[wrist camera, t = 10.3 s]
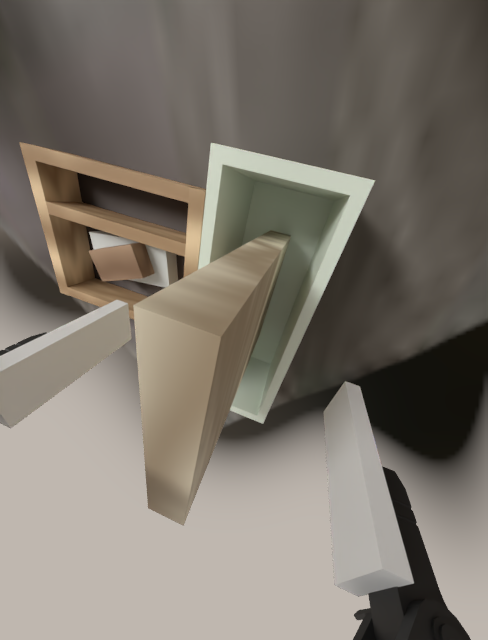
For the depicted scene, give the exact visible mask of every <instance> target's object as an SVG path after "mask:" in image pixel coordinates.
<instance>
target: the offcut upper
mask: <svg viewBox="0 0 488 640" xmlns="http://www.w3.org/2000/svg"><path fill="white" fill-rule="evenodd" d="M89 253H90V256H91V258H92V260H93V262H94V264H95V266H96V269H97V271H98V273H99V275H100V277H101V279H102V282H103V281H116V280H128V279H141V278H145V277H147V276H150V275H152V274H154V273H155V272H154V269H153V266H152V263H151V261H150V258H149V255H148V252H147V249H146V246H145V244H143V243H132V244H126V245H119V246H112V247H105V248H100V249H95V250H90V251H89Z"/></svg>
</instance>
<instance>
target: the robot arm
mask: <svg viewBox="0 0 488 640" xmlns="http://www.w3.org/2000/svg"><path fill="white" fill-rule="evenodd" d="M129 340H131V329H130V319H129V308H128V303H125V302H122V301H120V300H115V301H113V302H111V303H109V304H107V305H105V306H103V307H101V308H99V309H97V310H94V311H92V312H90V313H88V314H86V315H84V316H82V317H80V318H78V319H76V320H74V321H72V322H70V323H68V324H65V325H63V326H61V327H59V328H57V329H55V330H53V331H51V332H49V333H43V334H39V335H35V336H31V337H29V338H27V339H25V340H22V341H20V342H18V343H17V344H16V345H15V344H14V345H12V346H10V347H7V348H6V349H5V350H1V351H0V423H1V424H3V425H5V426H7V427H9V428H12V427H13V426H14V425H16V424H17V423H19V422H20V421H21V420H23V419H24V418H25V417H27V416H28V415H29V414H31V413H32V412H33V411H35V410H36V409H38V408H39V407H40V406H42V405H43V404H44V403H46V402H47V401H48V400H50V399H51V398H52V397H54V396H55V395H56V394H58V393H59V392H60V391H62V390H63V389H64V388H65V387H67V386H69V385H70V384H71V383H73V382H74V381H75V380H77V379H78V378H79V377H81V376H82V375H83V374H85V373H86V372H87V371H89V370H90V369H92V368H93V367H94V366H96V365H97V364H98V363H100V362H101V361H102V360H104V359H105V358H106V357H108V356H109V355H110V354H112V353H113V352H114V351H116V350H117V349H118V348H120V347H121V346H123V345H124V344H125V343H127V342H128V341H129ZM323 414H324V429H325V445H326V459H327V460H326V461H327V476H328V492H329V507H330V523H331V538H332V554H333V569H334V584H335V586H338V587H340V588H342V589H344V590H346V591H348V592H350V593H352V594H354V595H356V596H358V597H359V596H363V595H367V594H369V601H370V607H371V608H369V609H363V610H359V611H357V612H356V613H355V614H354V616H355V618H356V619H357V620H361V619H363V621H362V623H361V625H360V627H359V629H358V631H357V633H356V635H355V637H354V639H353V640H471V639H470V637H469V635H468V634H467V633H466V631H465V630H464V628H463V627H462V625H461V624H460V622H459V621H458V620H457V618H456V617H455V616H454V615H453V614H452V613H451V612H450V611H449V610H448V608H447V606H446V604H445V602H444V600H443V598H442V595H441V593H440V590H439V587H438V584H437V581H436V578H435V575H434V573H433V570H432V566H431V563H430V561H429V558H428V555H427V552H426V549H425V546H424V543H423V540H422V537H421V534H420V531H419V528H418V526H417V525H416V519H415V516H414V513H413V511H412V510H411V504H410V501H409V498H408V496H407V492H406V489H405V488H404V486H403V484H402V483H401V481H400V479H399V478H398V476H397V474H396V473H395V471H392V470H390V469H387V468H385V467H382V465H381V462H380V458H379V454H378V450H377V447H376V443H375V440H374V436H373V432H372V429H371V425H370V422H369V418H368V414H367V411H366V407H365V404H364V400H363V396H362V392H361V389H360V386H357V385H354V384H352V383H349V382H346V381H345V382H344V383H343V385H342V386H341V388H340V389H339V391H338V392H337V393H336V395H335V397H334V398H333V399H332V401H331V402H330V403H329V405H328V406H327V408H326V409H325V411H324V412H323Z"/></svg>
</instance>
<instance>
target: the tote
mask: <svg viewBox="0 0 488 640" xmlns="http://www.w3.org/2000/svg"><path fill="white" fill-rule="evenodd" d="M374 182H375V180H371V179H366V178H362V177H358V176H353V175H349V174H345V173H340V172H336V171H332V170H327V169H323V168H319V167H314V166H310V165H306V164H301V163H297V162H293V161H288V160H284V159H280V158H276V157H271V156H267V155H263V154H258V153H254V152H250V151H245V150H241V149H237V148H232V147H228V146H224V145H219V144H215V143H211V149H210V158H209V168H208V178H207V187H206V197H205V207H204V216H203V226H202V236H201V245H200V255H199V265H198V270H199V269H201V268H202V267H204V266H206V265H208V264H210V263H212V262H213V261H215V260H217V259H219V258H221V257H223V256H224V255H226V254H228V253H230V252H232V251H234V250H235V249H237V248H239V247H241V246H243V245H245V244H246V243H248V242H250V241H252V240H254V239H256V238H257V237H259V236H261V235H263V234H265V233H267V232H268V231H270V230H272V231H276V232H280V233H283V234H287V235H290V236H291V238H290V241H289V245H288V248H287V251H286V254H285V257H284V260H283V263H282V266H281V269H280V273H279V276H278V279H277V282H276V285H275V288H274V291H273V294H272V298H271V301H270V304H269V307H268V310H267V313H266V316H265V319H264V323H263V326H262V329H261V332H260V335H259V338H258V340H257V343H256V345H255V348H254V350H253V353H252V355H251V358H250V360H249V363H248V365H247V368H246V370H245V373H244V375H243V378H242V380H241V383H240V385H239V388H238V390H237V393H236V395H235V398H234V400H233V403H232V405H231V408H230V410H231V411H233V412H236V413H238V414H240V415H243V416H245V417H248V418H250V419H253V420H255V421H258V422H260V423H263V422H264V420H265V418H266V415H267V414H268V411H269V409H270V407H271V405H272V403H273V401H274V398H275V396H276V394H277V392H278V390H279V388H280V385H281V383H282V381H283V379H284V377H285V375H286V372H287V370H288V368H289V366H290V364H291V362H292V359H293V357H294V355H295V353H296V351H297V349H298V346H299V344H300V342H301V340H302V338H303V336H304V333H305V331H306V329H307V327H308V325H309V323H310V320H311V318H312V316H313V314H314V312H315V310H316V307H317V305H318V303H319V301H320V299H321V297H322V294H323V292H324V290H325V288H326V286H327V284H328V281H329V279H330V277H331V275H332V273H333V271H334V268H335V266H336V264H337V262H338V260H339V258H340V255H341V253H342V251H343V249H344V247H345V245H346V242H347V240H348V238H349V236H350V234H351V232H352V229H353V227H354V225H355V223H356V221H357V219H358V216H359V214H360V212H361V210H362V208H363V206H364V203H365V201H366V199H367V197H368V195H369V193H370V190H371V188H372V186H373V184H374Z"/></svg>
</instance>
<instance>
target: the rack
mask: <svg viewBox="0 0 488 640" xmlns="http://www.w3.org/2000/svg"><path fill="white" fill-rule="evenodd" d="M19 143H20V147H21V150H22V154H23V158H24V161H25V165H26V168H27V172H28V176H29V179H30V183H31V187H32V190H33V194H34V198H35V201H36V205H37V209H38V212H39V216H40V219H41V223H42V227H43V230H44V234H45V238H46V241H47V245H48V249H49V252H50V256H51V260H52V263H53V267H54V270H55V274H56V278H57V281H58V285H59V289H60V292H61V293H63V294H66V295H69V296H72V297H75V298H77V299H80V300H83V301H86V302H88V303H91V304H94V305H96V306H99V307H103V306H105V305H107V304H109V303H111V302H113V301H115V300H120V301H122V302H125V303H128V308H129V318H132V319H134V307H133V305H135V304H136V303H138V302H140V301H142V300H144V299H146V298H147V296H145V295H142V294H139V293H136V292H133V291H130V290H127V289H125V288H122V287H119V286H116V285H113V284H110V283H107V282H105V281H103V282H102V280H99V279H96V278H95V275H94V269H93V263H92V258H91V256H90V253H89V251H90V246H89V240H88V234H87V228H86V226H89V227H92V228H95V229H98V230H101V231H104V232H108V233H111V234H114V235H117V236H120V237H124V238H127V239H130V240H133V241H136V242H139V243H143V244H146V245H149V246H152V247H155V248H159V249H162V250H165V251H168V252H171V253H175V254H178V255H181V256H184V257H185V262H184V277H186V276H188V275H190V274H191V273H193V272H195V271H197V270H198V265H199V255H200V245H201V236H202V226H203V216H204V207H205V197H206V189H203V188H199V187H196V186H192V185H188V184H184V183H180V182H177V181H173V180H169V179H165V178H162V177H158V176H154V175H150V174H146V173H143V172H139V171H135V170H131V169H127V168H124V167H120V166H116V165H112V164H108V163H105V162H101V161H97V160H93V159H90V158H86V157H82V156H78V155H74V154H70V153H66V152H61V151H57V150H53V149H48V148H44V147H40V146H35V145H30V144H26V143H21V142H19ZM77 172H78V173H82V174H85V175H89V176H93V177H96V178H100V179H103V180H107V181H111V182H114V183H118V184H121V185H125V186H129V187H132V188H136V189H140V190H143V191H147V192H150V193H154V194H158V195H161V196H165V197H168V198H172V199H176V200H179V201H183V202H187V203H188V217H187V232H186V233H183V232H180V231H177V230H173V229H170V228H167V227H163V226H160V225H157V224H153V223H150V222H147V221H143V220H140V219H136V218H133V217H130V216H126V215H123V214H120V213H116V212H113V211H110V210H106V209H103V208H100V207H96V206H93V205H89V204H86V203H83V202H82V199H81V193H80V188H79V182H78V176H77ZM184 277H183V278H184Z"/></svg>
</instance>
